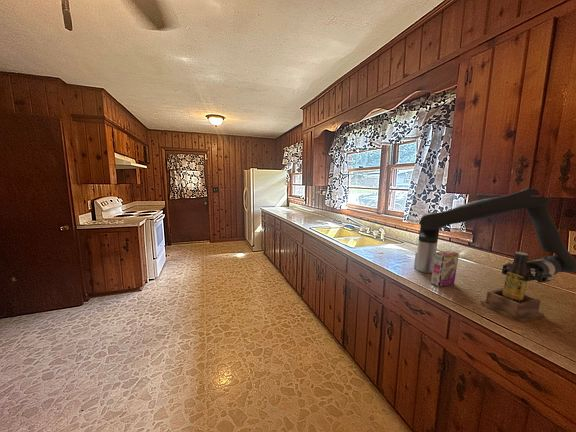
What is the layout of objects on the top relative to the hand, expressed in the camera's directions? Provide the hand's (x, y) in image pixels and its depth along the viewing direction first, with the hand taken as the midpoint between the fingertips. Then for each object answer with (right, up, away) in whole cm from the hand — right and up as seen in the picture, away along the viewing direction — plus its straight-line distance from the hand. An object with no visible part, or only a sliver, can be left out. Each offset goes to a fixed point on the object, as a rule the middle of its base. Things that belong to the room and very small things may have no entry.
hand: (513, 275), depth 93 cm
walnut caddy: (+2, -15, +3) cm, 15 cm away
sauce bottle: (+2, -11, +3) cm, 12 cm away
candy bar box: (-11, -11, +26) cm, 30 cm away
